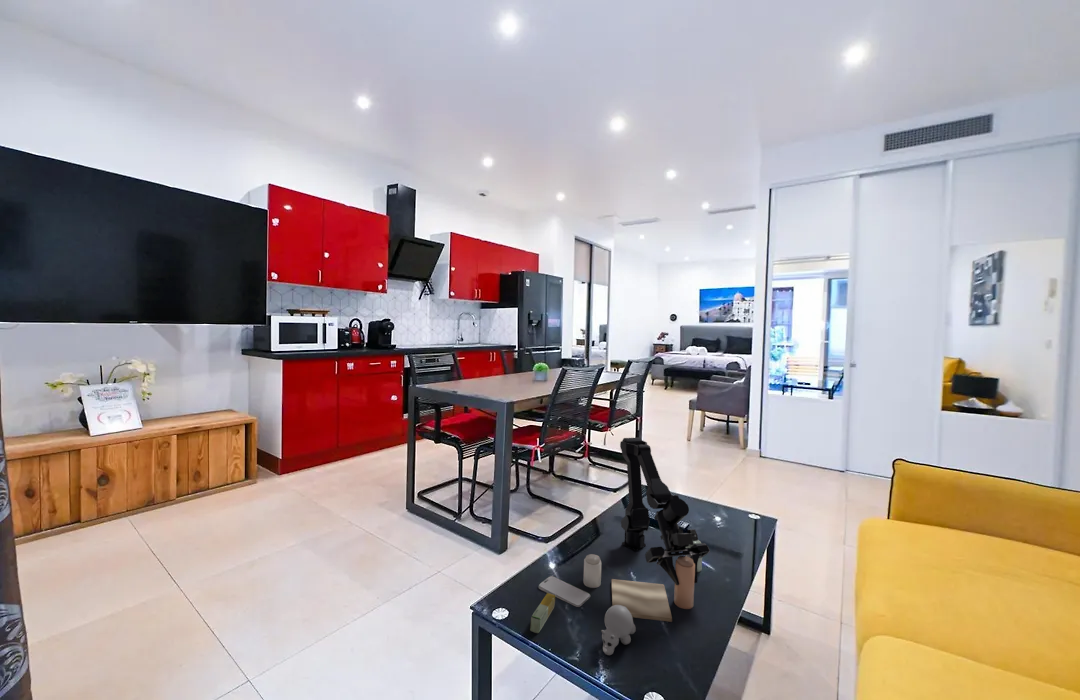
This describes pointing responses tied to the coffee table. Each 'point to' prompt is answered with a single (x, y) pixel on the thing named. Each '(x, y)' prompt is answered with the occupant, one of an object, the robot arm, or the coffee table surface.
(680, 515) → the robot arm
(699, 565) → the sage jar
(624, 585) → the beige cloth
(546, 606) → the medication box
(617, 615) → the chubby cartoon animal
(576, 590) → the smartphone
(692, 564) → the terracotta jar
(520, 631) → the coffee table surface
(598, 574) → the cream jar
